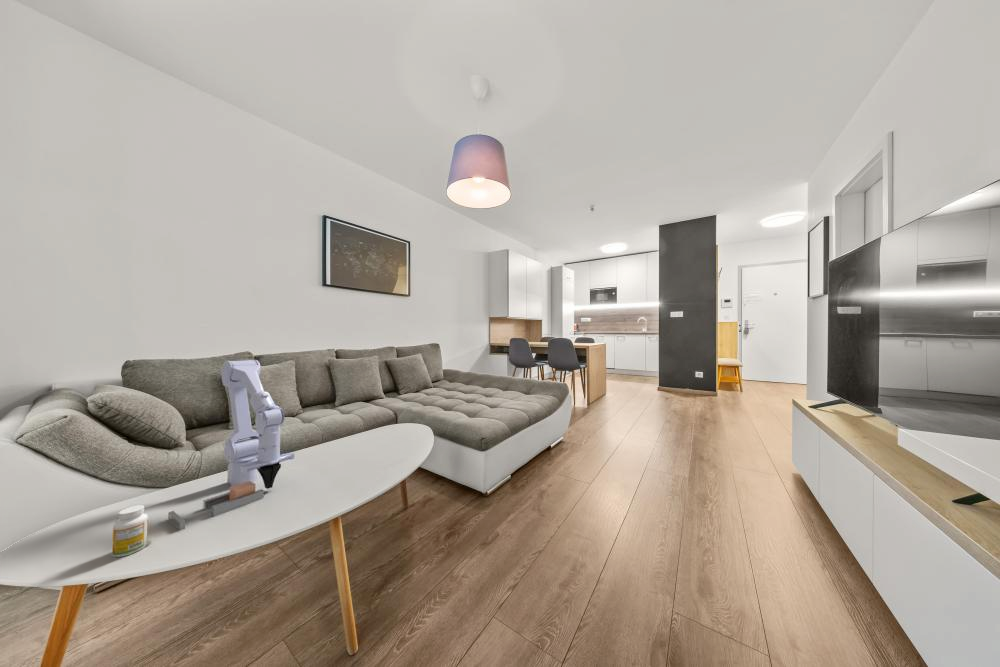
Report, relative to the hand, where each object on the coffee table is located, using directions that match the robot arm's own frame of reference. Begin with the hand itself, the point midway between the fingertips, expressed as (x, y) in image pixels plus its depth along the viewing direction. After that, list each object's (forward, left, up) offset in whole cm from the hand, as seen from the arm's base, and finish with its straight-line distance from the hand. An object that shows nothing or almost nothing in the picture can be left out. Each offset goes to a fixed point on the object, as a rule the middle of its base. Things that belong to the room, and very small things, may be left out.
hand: (268, 487), depth 101 cm
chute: (0, -11, -2) cm, 11 cm away
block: (0, -7, -1) cm, 7 cm away
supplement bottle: (+3, -30, -2) cm, 30 cm away
